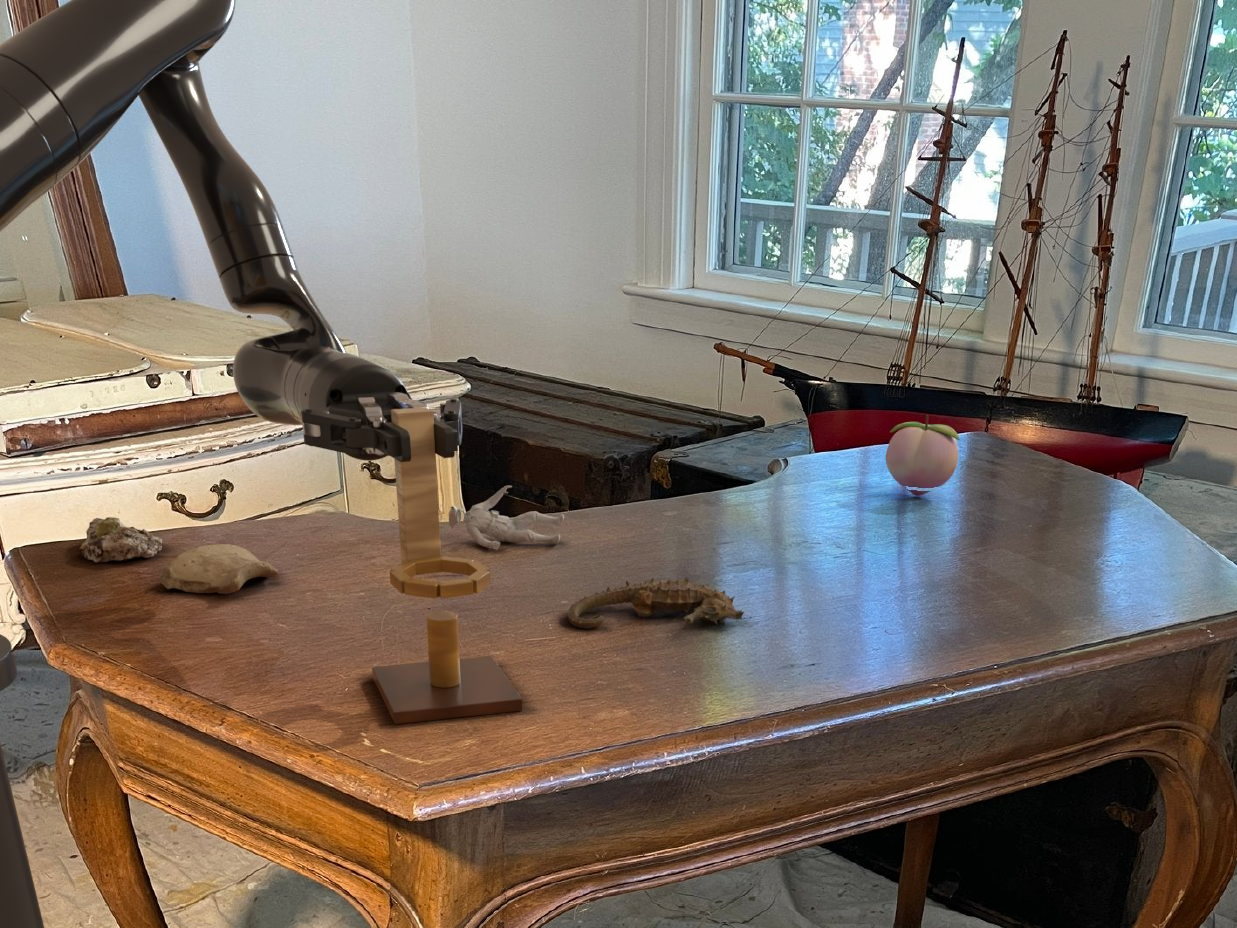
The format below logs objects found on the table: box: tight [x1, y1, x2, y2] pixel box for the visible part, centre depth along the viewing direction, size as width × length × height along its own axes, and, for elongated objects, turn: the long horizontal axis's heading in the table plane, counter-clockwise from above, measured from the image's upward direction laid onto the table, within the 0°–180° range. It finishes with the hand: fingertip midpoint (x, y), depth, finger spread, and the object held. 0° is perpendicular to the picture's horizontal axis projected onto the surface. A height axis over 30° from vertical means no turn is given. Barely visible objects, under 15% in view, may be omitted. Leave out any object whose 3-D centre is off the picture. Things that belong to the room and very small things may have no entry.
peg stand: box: [371, 610, 523, 725], centre depth 102 cm, size 10×10×6 cm
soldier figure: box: [448, 485, 565, 551], centre depth 142 cm, size 8×5×12 cm
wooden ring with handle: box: [389, 407, 491, 600], centre depth 97 cm, size 9×7×12 cm
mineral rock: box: [78, 516, 163, 564], centre depth 134 cm, size 11×4×8 cm
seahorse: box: [567, 576, 745, 629], centre depth 121 cm, size 9×16×3 cm, turn 86°
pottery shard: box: [158, 543, 279, 595], centre depth 126 cm, size 11×4×10 cm
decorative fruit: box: [885, 414, 961, 497], centre depth 165 cm, size 9×8×10 cm
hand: (428, 445), depth 96 cm, fingers closed on wooden ring with handle, 3 cm apart
